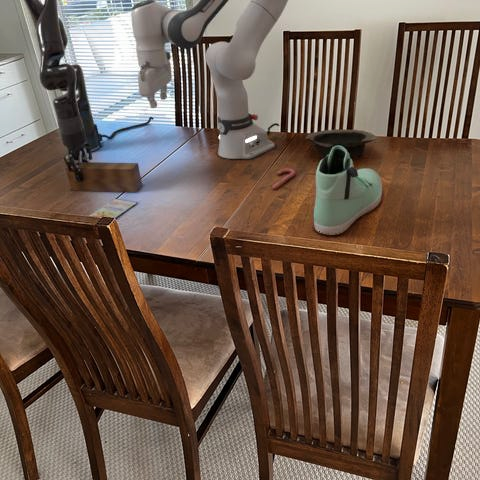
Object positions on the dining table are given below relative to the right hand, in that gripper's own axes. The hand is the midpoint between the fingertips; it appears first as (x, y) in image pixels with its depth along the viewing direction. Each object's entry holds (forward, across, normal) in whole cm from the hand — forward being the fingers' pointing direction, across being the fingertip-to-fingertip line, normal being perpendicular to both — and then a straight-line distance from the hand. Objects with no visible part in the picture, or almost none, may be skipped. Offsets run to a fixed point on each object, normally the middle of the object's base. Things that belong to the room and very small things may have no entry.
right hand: (159, 103), depth 157 cm
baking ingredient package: (+25, -29, +9) cm, 40 cm away
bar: (+25, -12, +19) cm, 34 cm away
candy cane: (+25, -3, -40) cm, 47 cm away
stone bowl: (+25, +20, -58) cm, 66 cm away
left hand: (+22, -12, +26) cm, 36 cm away
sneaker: (+25, -21, -62) cm, 70 cm away
